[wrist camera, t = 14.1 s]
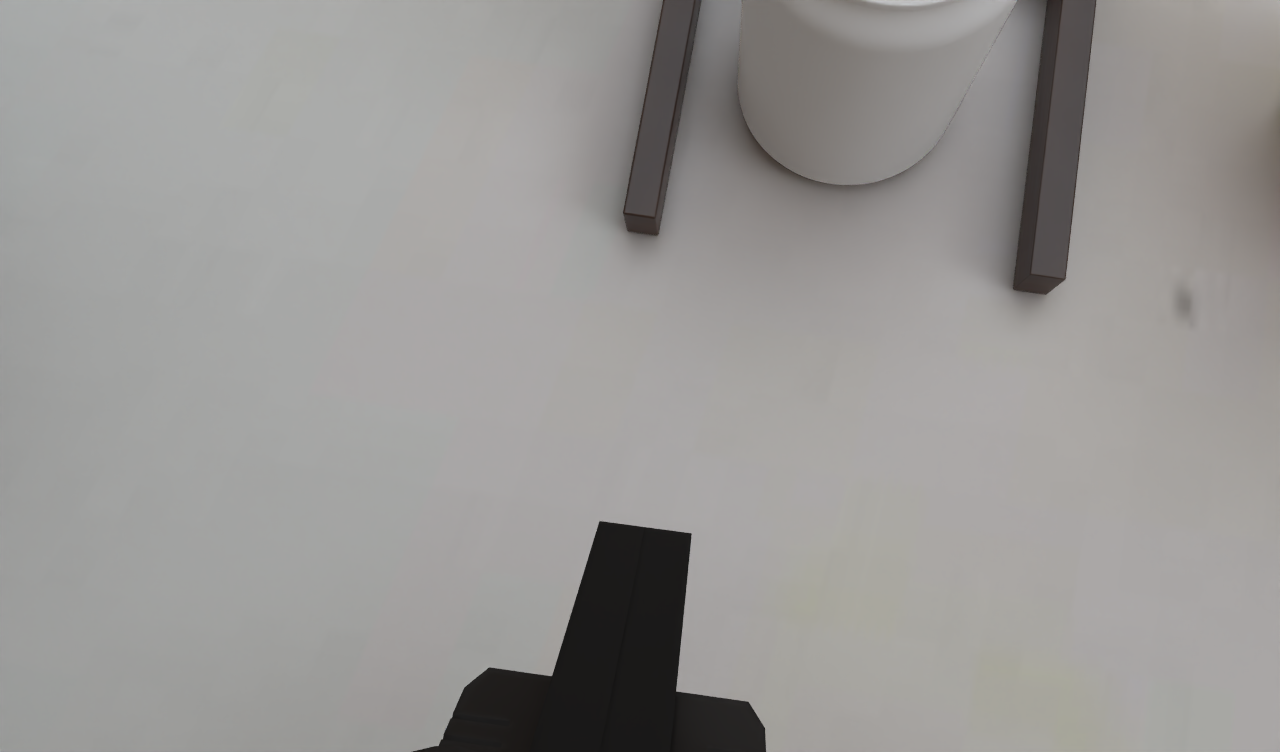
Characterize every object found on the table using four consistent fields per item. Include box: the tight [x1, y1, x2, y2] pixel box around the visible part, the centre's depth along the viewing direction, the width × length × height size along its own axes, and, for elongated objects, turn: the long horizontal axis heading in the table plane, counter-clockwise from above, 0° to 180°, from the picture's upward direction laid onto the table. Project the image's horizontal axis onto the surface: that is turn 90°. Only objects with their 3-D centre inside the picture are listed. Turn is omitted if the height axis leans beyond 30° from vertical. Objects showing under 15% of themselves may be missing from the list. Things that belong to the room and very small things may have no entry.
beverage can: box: [738, 0, 1017, 185], centre depth 32 cm, size 8×8×12 cm
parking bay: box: [623, 0, 1096, 294], centre depth 37 cm, size 15×13×2 cm
